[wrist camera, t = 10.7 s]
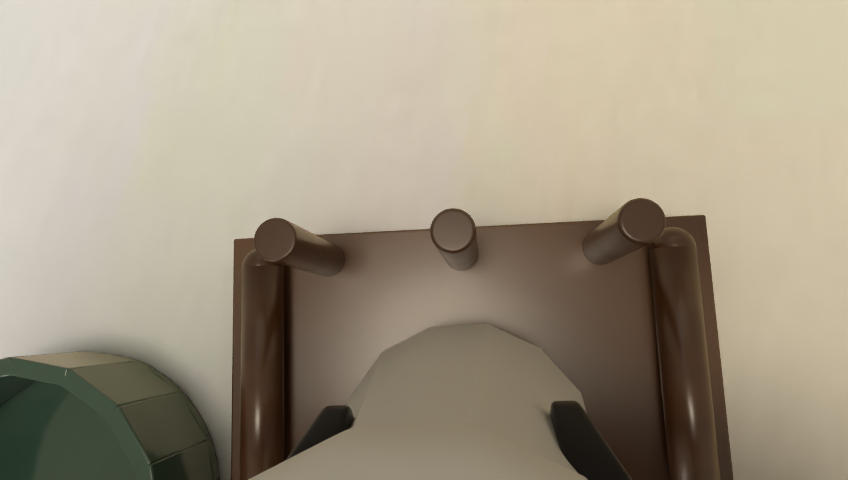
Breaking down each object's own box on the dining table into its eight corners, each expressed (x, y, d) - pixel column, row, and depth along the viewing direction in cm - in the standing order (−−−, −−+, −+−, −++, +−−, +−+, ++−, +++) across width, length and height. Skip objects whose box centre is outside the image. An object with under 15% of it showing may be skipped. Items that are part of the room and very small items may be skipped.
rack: (726, 606, 16) (865, 770, 10) (249, 599, 18) (130, 740, 12) (687, 223, 18) (788, 175, 12) (252, 245, 19) (149, 211, 13)
